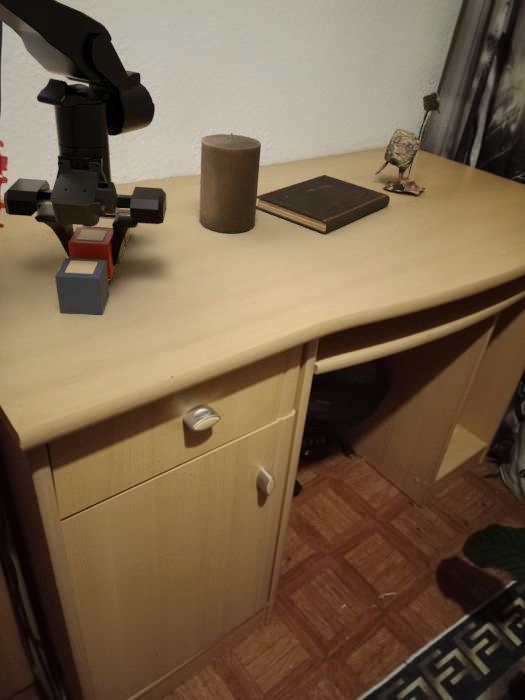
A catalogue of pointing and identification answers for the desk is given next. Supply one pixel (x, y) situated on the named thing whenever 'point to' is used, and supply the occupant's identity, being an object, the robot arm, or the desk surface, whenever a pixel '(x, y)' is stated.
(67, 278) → the slate block
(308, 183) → the hardcover book
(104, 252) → the red block
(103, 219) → the olive block
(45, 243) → the desk surface
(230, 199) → the pillar candle
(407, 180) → the mottled figurine
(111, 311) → the desk surface
